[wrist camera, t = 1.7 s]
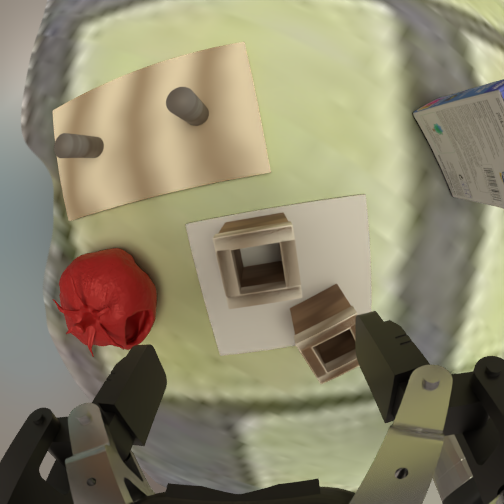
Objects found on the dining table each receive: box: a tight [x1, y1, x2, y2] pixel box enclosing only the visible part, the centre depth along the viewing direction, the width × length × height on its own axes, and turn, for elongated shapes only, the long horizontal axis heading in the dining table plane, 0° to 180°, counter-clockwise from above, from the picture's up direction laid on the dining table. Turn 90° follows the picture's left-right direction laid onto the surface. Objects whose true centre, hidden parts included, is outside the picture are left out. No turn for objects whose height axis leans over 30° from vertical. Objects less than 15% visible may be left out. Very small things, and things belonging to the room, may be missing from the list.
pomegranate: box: [54, 248, 157, 357], centre depth 22 cm, size 10×10×9 cm
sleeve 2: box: [290, 284, 359, 384], centre depth 23 cm, size 5×5×6 cm
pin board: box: [53, 42, 271, 221], centre depth 19 cm, size 20×12×6 cm, turn 100°
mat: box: [185, 194, 371, 356], centre depth 25 cm, size 16×14×1 cm
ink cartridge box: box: [413, 79, 504, 208], centre depth 14 cm, size 10×6×14 cm, turn 36°
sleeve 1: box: [213, 212, 302, 309], centre depth 21 cm, size 5×5×6 cm
